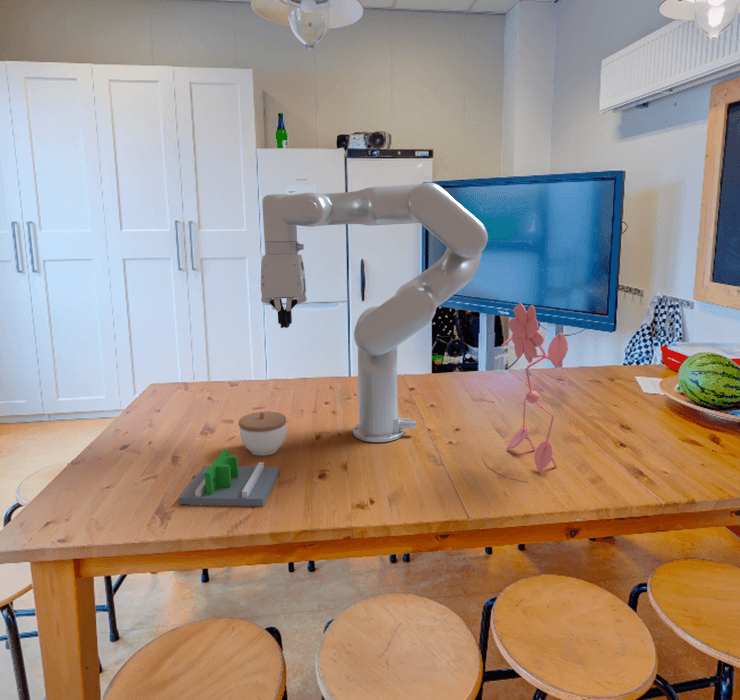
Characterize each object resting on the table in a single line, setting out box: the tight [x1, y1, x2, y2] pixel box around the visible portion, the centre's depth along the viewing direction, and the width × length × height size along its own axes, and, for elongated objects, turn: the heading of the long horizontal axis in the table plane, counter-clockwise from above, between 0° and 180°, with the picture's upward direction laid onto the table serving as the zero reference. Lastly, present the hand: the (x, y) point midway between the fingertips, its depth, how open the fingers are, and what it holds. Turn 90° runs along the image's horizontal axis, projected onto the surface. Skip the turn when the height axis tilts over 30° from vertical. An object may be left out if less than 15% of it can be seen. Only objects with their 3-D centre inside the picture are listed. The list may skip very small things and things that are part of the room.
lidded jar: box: [238, 411, 287, 457], centre depth 132 cm, size 11×11×9 cm
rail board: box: [178, 461, 280, 507], centre depth 115 cm, size 16×14×3 cm
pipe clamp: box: [204, 448, 239, 495], centre depth 114 cm, size 11×4×5 cm, turn 175°
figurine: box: [483, 302, 569, 483], centre depth 121 cm, size 15×26×35 cm, turn 13°
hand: (285, 326), depth 137 cm, fingers closed
